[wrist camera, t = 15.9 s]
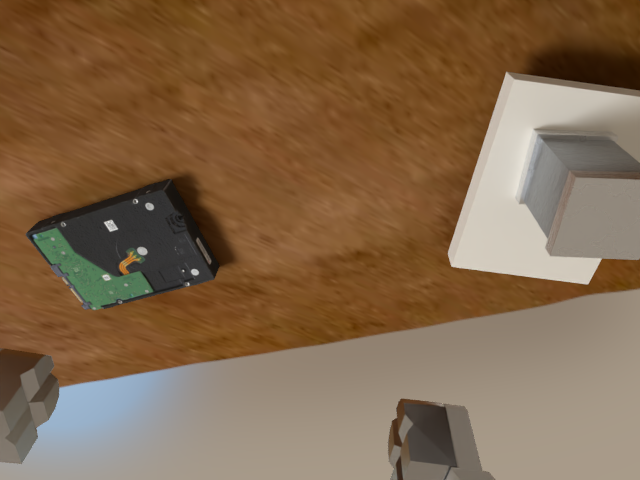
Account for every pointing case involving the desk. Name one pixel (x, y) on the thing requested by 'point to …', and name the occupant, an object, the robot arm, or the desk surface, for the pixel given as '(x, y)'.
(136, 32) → the desk surface
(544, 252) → the stand
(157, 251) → the disk drive
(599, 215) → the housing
